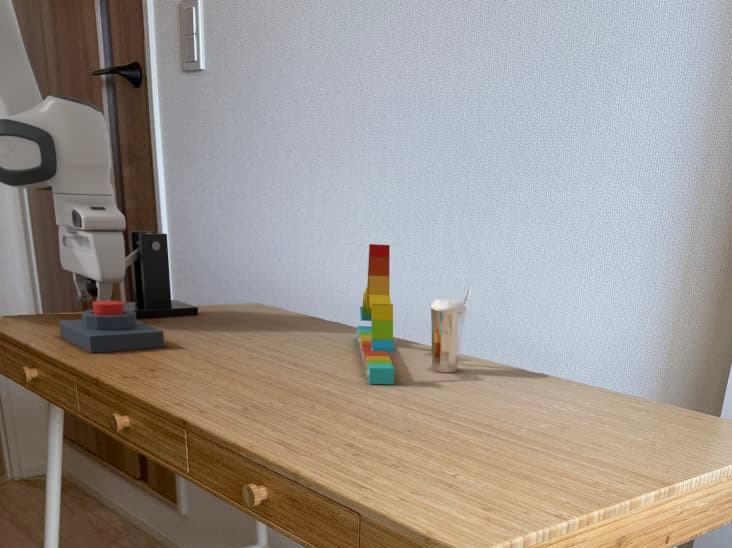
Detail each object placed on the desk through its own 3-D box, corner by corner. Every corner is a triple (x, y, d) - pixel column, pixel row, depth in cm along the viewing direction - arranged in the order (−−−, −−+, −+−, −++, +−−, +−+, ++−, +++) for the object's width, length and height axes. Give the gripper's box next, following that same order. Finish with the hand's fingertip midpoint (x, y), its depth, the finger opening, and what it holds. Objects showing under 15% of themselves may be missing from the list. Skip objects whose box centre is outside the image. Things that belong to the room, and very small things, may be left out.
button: (89, 314, 115) (88, 301, 114) (118, 312, 117) (117, 299, 117) (99, 318, 112) (98, 305, 111) (128, 316, 114) (127, 303, 114)
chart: (355, 338, 127) (357, 234, 121) (376, 339, 128) (379, 235, 122) (367, 384, 100) (371, 252, 94) (393, 384, 100) (399, 253, 94)
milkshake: (473, 371, 109) (479, 293, 105) (439, 374, 106) (443, 294, 102) (454, 365, 112) (460, 288, 108) (420, 367, 110) (425, 289, 106)
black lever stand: (128, 319, 134) (121, 234, 129) (109, 311, 140) (101, 230, 135) (198, 315, 141) (194, 234, 136) (176, 307, 147) (171, 230, 142)
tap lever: (100, 303, 133) (85, 285, 131) (92, 300, 136) (77, 282, 133) (166, 249, 136) (152, 230, 134) (157, 247, 139) (144, 228, 137)
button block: (60, 336, 118) (57, 307, 116) (129, 331, 124) (127, 304, 122) (91, 353, 109) (88, 322, 107) (164, 347, 114) (162, 317, 113)
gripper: (44, 209, 134) (55, 297, 140) (86, 218, 120) (96, 316, 125) (84, 210, 138) (92, 296, 144) (129, 218, 123) (137, 314, 129)
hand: (94, 305), depth 134 cm, fingers open, 7 cm apart
